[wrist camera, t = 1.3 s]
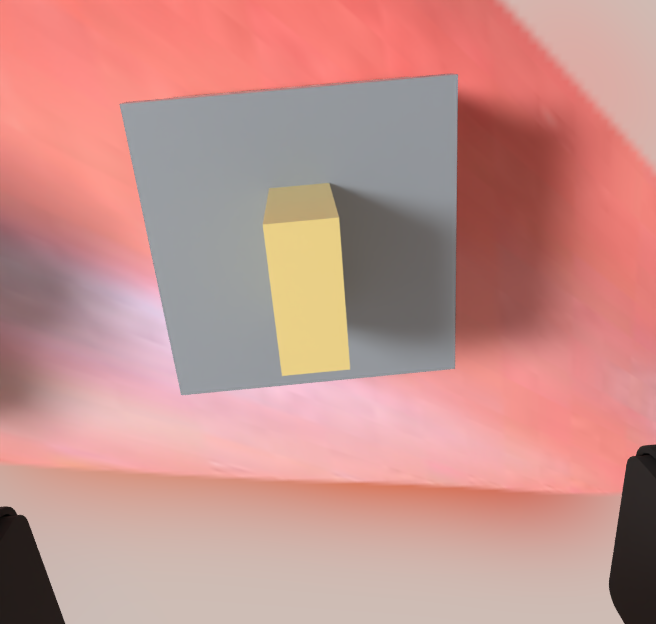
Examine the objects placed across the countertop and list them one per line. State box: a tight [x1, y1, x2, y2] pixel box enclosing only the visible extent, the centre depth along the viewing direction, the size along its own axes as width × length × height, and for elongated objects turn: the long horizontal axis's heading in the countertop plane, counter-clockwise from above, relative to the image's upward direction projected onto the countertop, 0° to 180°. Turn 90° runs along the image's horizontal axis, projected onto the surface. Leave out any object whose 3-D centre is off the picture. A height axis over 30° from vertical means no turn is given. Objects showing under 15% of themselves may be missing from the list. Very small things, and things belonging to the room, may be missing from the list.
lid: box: [120, 74, 458, 395], centre depth 21 cm, size 12×12×7 cm
